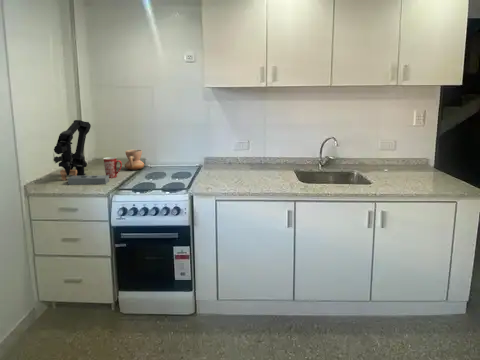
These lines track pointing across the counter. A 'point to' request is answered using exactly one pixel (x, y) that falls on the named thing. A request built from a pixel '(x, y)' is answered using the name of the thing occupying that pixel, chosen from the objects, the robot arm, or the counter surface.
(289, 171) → the counter surface
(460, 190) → the counter surface
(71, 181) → the rail
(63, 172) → the tan pronged block
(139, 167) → the ceramic jug
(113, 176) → the mug
